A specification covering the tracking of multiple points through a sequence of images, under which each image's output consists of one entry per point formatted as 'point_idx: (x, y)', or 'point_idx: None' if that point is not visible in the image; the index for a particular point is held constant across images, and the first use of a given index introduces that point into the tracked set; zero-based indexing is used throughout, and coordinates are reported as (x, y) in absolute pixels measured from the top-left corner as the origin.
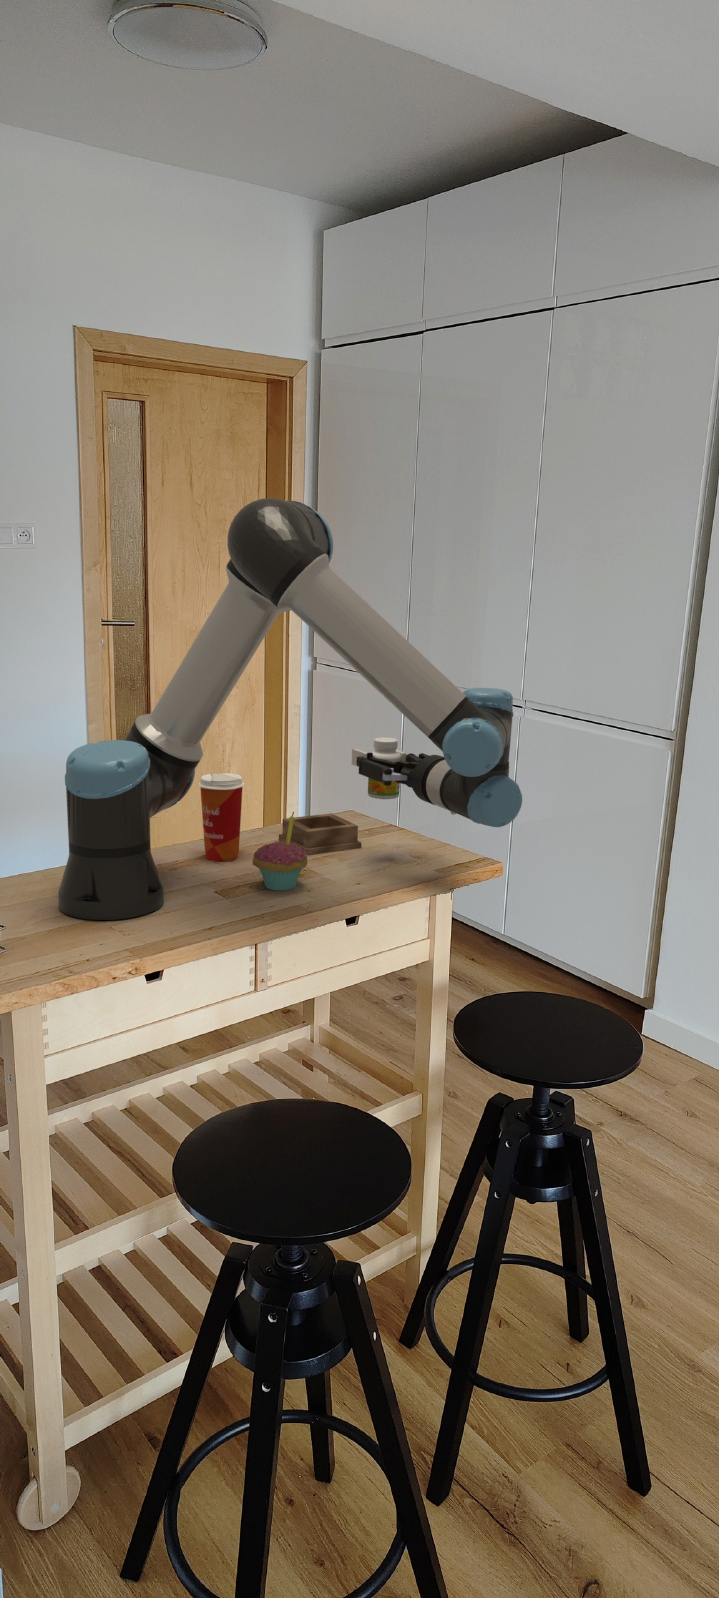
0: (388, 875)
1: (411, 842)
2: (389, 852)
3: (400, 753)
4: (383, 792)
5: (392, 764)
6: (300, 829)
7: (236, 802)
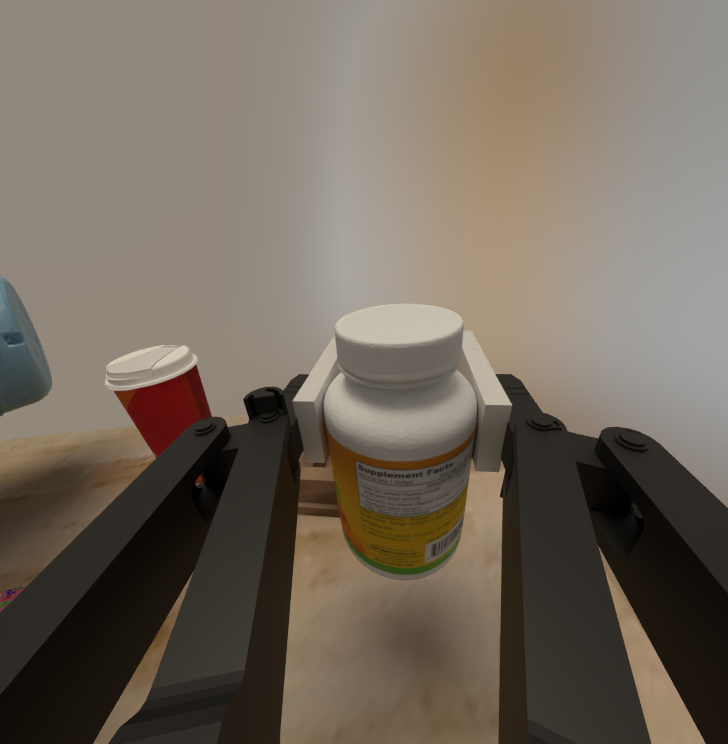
0: None
1: None
2: (455, 582)
3: (480, 397)
4: (360, 552)
5: (166, 657)
6: (301, 458)
7: (153, 409)
